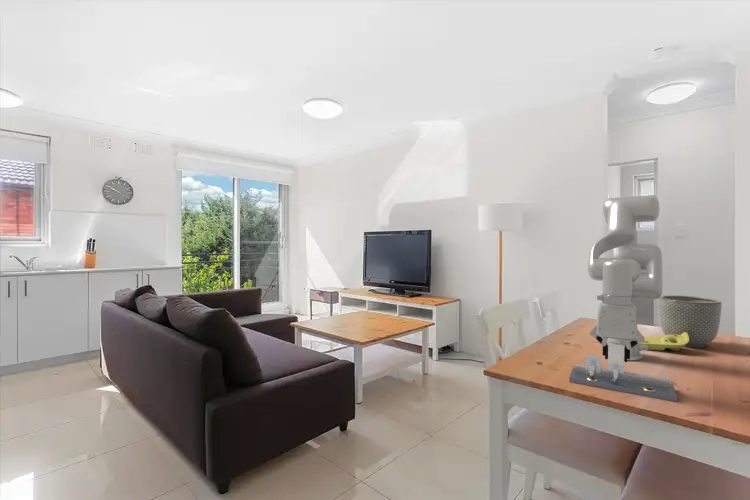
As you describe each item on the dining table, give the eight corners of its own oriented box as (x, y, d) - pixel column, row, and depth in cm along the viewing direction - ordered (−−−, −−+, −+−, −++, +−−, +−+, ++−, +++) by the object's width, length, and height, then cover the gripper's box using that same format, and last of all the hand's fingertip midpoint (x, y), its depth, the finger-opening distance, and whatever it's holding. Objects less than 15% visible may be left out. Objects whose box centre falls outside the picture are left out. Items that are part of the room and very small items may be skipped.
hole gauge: (569, 381, 115) (569, 359, 115) (573, 371, 123) (573, 351, 123) (676, 401, 100) (677, 376, 100) (672, 389, 109) (673, 365, 109)
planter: (714, 342, 156) (715, 297, 156) (726, 354, 140) (727, 304, 139) (655, 335, 167) (656, 293, 166) (660, 346, 150) (661, 300, 150)
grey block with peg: (607, 380, 110) (607, 346, 110) (608, 372, 117) (608, 340, 116) (623, 383, 108) (624, 349, 108) (623, 375, 115) (624, 342, 114)
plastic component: (627, 342, 149) (625, 327, 157) (628, 356, 152) (627, 341, 159) (691, 346, 138) (686, 329, 146) (691, 361, 141) (686, 344, 149)
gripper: (584, 300, 115) (583, 358, 115) (651, 305, 106) (650, 368, 106) (586, 296, 121) (585, 351, 122) (650, 301, 112) (649, 361, 112)
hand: (616, 358), depth 114 cm, fingers open, 4 cm apart
